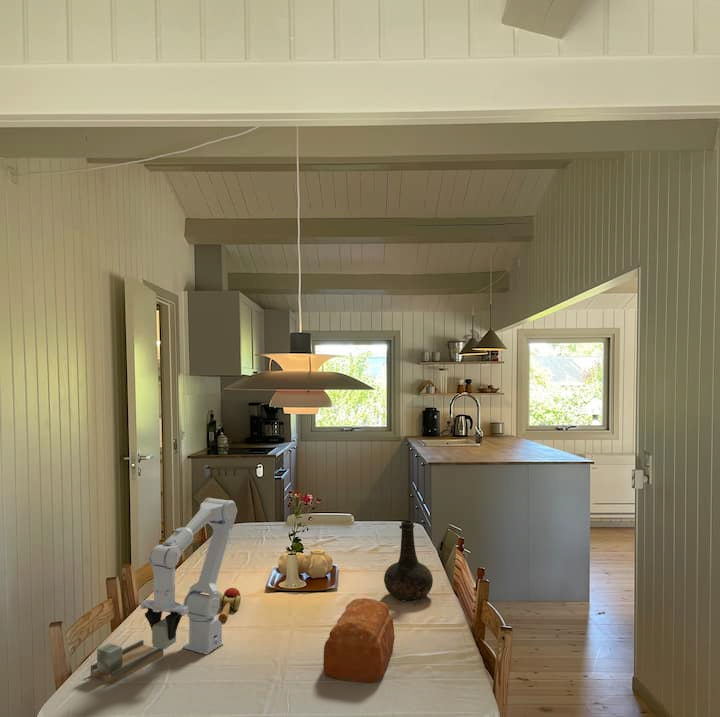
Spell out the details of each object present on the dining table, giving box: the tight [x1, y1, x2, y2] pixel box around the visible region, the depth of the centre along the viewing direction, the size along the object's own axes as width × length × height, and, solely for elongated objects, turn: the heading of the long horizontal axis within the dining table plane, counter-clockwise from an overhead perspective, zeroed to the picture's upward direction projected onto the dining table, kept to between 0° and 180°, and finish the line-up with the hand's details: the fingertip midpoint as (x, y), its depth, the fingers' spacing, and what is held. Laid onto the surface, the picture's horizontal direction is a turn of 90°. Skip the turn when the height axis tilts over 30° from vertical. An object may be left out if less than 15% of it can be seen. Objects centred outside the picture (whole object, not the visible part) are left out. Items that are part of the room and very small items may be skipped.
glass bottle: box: [383, 519, 434, 602], centre depth 228 cm, size 18×18×28 cm
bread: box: [322, 597, 395, 683], centre depth 180 cm, size 17×24×15 cm
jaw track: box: [89, 639, 164, 684], centre depth 176 cm, size 9×18×8 cm, turn 152°
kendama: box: [217, 587, 242, 623], centre depth 215 cm, size 8×6×18 cm
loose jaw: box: [151, 618, 177, 650], centre depth 174 cm, size 5×4×6 cm
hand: (164, 637), depth 174 cm, fingers closed on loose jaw, 4 cm apart
